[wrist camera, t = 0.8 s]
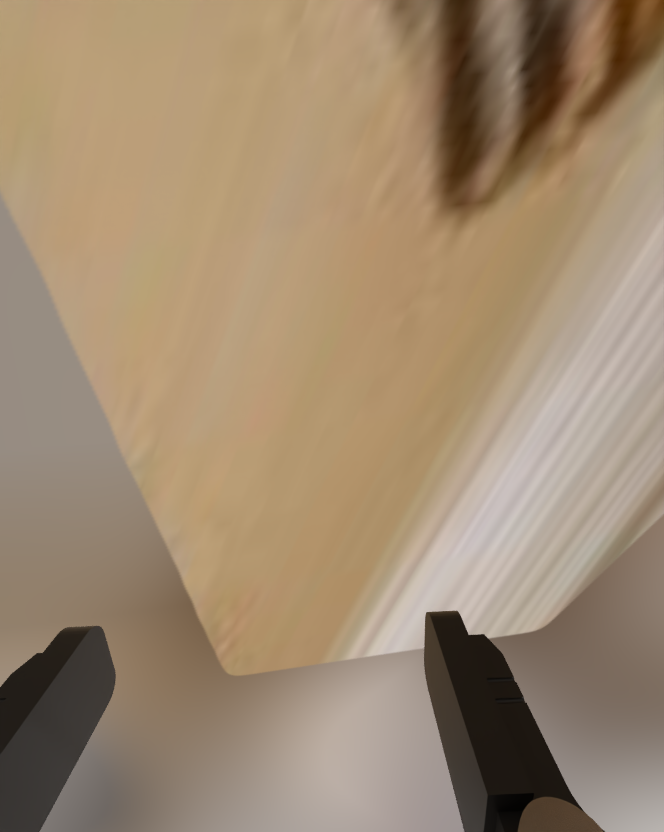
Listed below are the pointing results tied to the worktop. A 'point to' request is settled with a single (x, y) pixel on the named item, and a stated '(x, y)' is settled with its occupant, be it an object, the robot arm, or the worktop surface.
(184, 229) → the worktop surface
